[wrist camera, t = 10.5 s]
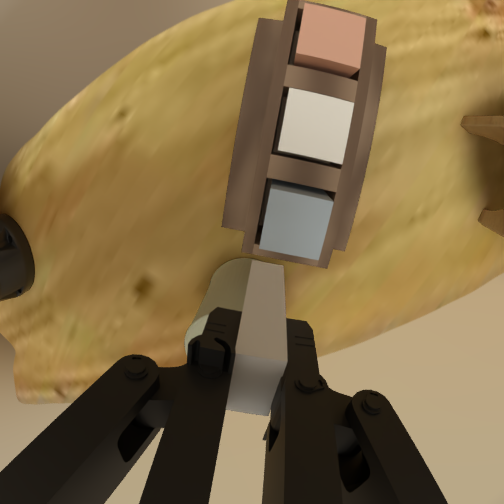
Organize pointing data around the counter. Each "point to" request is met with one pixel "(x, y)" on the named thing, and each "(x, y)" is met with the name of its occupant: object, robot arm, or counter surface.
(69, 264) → the counter surface
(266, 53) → the brown block holder tray
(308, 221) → the grey square block
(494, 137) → the planter
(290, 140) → the key white
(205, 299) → the can
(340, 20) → the key terracotta
